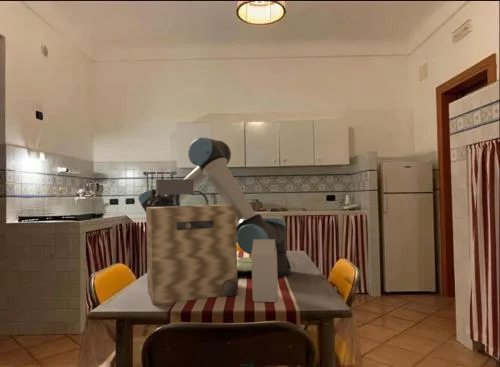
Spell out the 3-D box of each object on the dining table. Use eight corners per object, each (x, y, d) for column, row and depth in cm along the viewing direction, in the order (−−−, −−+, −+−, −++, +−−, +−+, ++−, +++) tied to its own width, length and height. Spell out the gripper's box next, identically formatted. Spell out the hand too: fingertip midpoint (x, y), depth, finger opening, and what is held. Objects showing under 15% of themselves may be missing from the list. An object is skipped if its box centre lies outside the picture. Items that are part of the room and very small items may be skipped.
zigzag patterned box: (222, 282, 142) (220, 204, 143) (239, 295, 123) (237, 205, 124) (147, 291, 132) (146, 207, 133) (153, 306, 113) (151, 208, 114)
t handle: (179, 194, 154) (179, 182, 154) (193, 193, 126) (193, 179, 126) (149, 195, 149) (149, 182, 150) (157, 194, 122) (157, 179, 122)
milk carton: (275, 302, 113) (273, 240, 114) (252, 302, 115) (250, 240, 115) (278, 296, 120) (276, 238, 121) (256, 295, 122) (255, 238, 122)
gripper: (182, 217, 162) (190, 189, 143) (143, 219, 156) (146, 190, 137) (180, 202, 165) (188, 173, 147) (142, 203, 160) (145, 173, 141)
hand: (168, 182), depth 142 cm, fingers closed on t handle, 3 cm apart
